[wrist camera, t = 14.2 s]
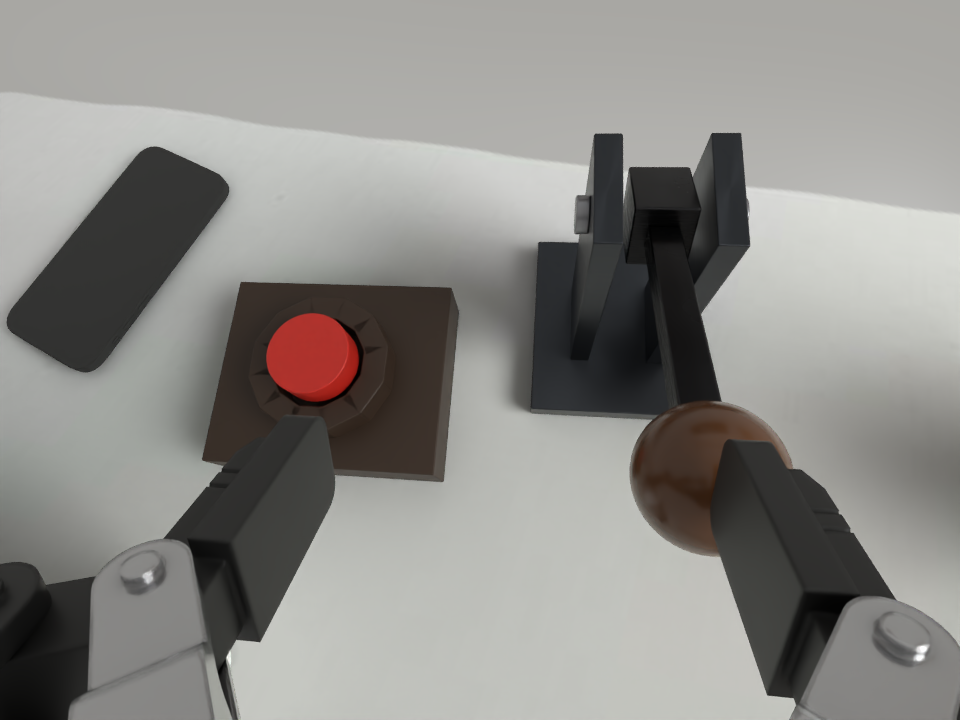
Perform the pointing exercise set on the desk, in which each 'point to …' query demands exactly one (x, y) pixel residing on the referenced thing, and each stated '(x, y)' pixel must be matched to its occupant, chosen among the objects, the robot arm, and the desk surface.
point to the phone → (117, 259)
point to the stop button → (312, 357)
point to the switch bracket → (624, 289)
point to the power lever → (679, 368)
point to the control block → (374, 390)
